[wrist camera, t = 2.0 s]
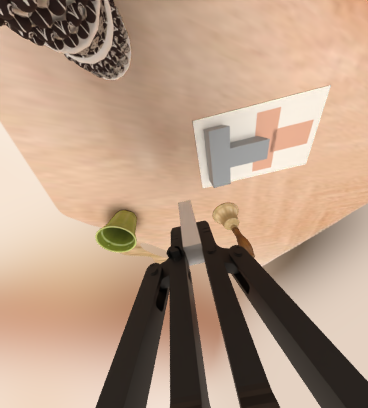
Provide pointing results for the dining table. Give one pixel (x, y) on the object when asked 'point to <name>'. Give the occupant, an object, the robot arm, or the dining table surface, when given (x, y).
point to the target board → (268, 132)
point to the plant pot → (118, 233)
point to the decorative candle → (74, 31)
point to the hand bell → (231, 223)
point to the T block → (230, 153)
